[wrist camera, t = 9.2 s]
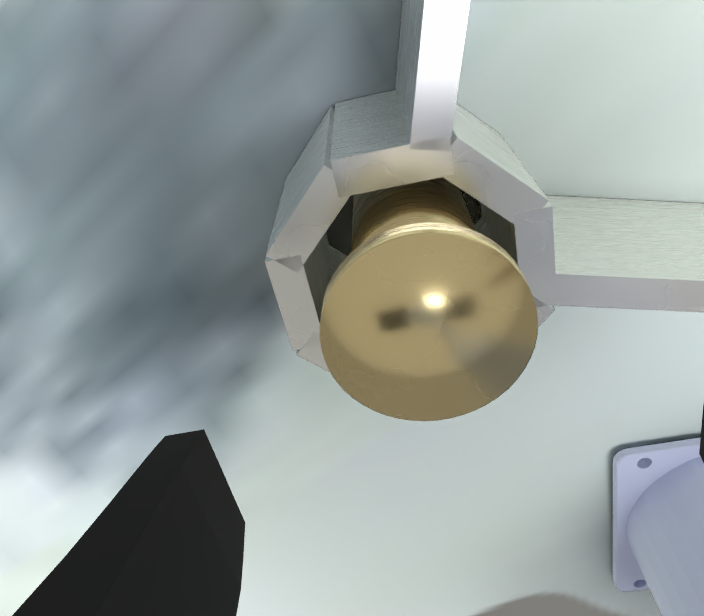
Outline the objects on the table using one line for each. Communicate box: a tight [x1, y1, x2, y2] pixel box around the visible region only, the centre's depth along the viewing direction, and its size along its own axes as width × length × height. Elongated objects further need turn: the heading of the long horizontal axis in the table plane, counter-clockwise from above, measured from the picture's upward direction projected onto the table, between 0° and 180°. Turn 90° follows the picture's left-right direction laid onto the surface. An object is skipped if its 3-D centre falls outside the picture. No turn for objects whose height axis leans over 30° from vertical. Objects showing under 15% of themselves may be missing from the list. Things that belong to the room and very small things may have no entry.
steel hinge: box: [265, 0, 704, 372], centre depth 13 cm, size 16×16×5 cm
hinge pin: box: [320, 177, 538, 421], centre depth 15 cm, size 4×4×8 cm
